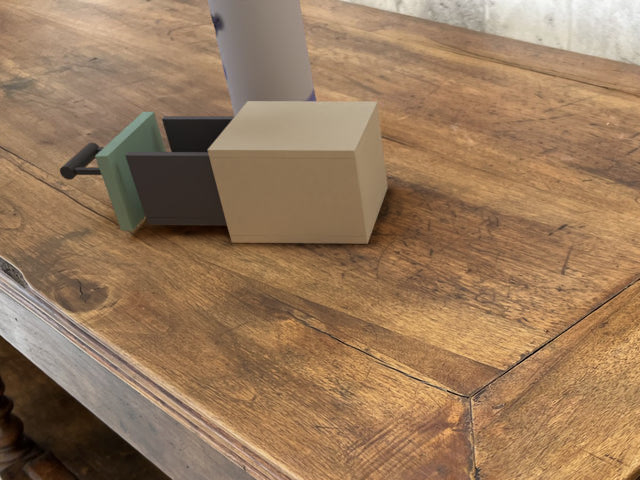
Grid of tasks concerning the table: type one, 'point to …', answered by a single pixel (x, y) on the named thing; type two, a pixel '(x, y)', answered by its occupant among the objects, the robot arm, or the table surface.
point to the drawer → (158, 171)
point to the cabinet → (301, 172)
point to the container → (263, 50)
